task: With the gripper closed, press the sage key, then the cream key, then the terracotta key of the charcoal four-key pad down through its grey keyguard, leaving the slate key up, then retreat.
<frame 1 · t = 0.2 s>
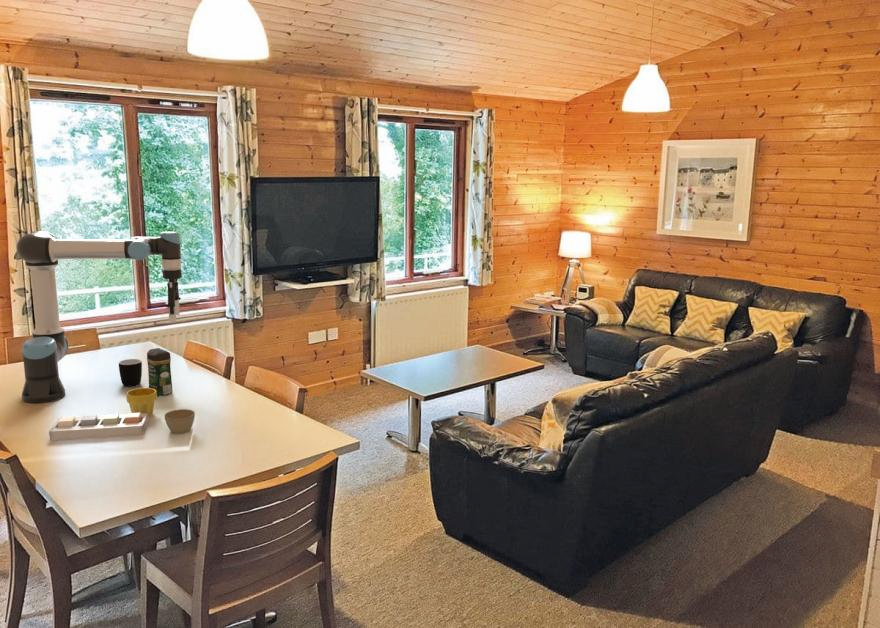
hand: (174, 318, 302), 28 cm above the table, fingers open, 13 cm apart
keypad: (101, 433, 246), on the table
mug: (130, 384, 303), on the table
key terracotta: (132, 418, 248), point 5 cm above the table, slide at 0.0 cm
key sage: (111, 419, 246), point 5 cm above the table, slide at 0.0 cm
key cream: (66, 422, 243), point 5 cm above the table, slide at 0.0 cm
plant pot: (143, 417, 264), on the table
flower pot: (180, 433, 248), on the table
coffee jar: (160, 393, 291), on the table
key slate: (89, 421, 245), point 5 cm above the table, slide at 0.0 cm
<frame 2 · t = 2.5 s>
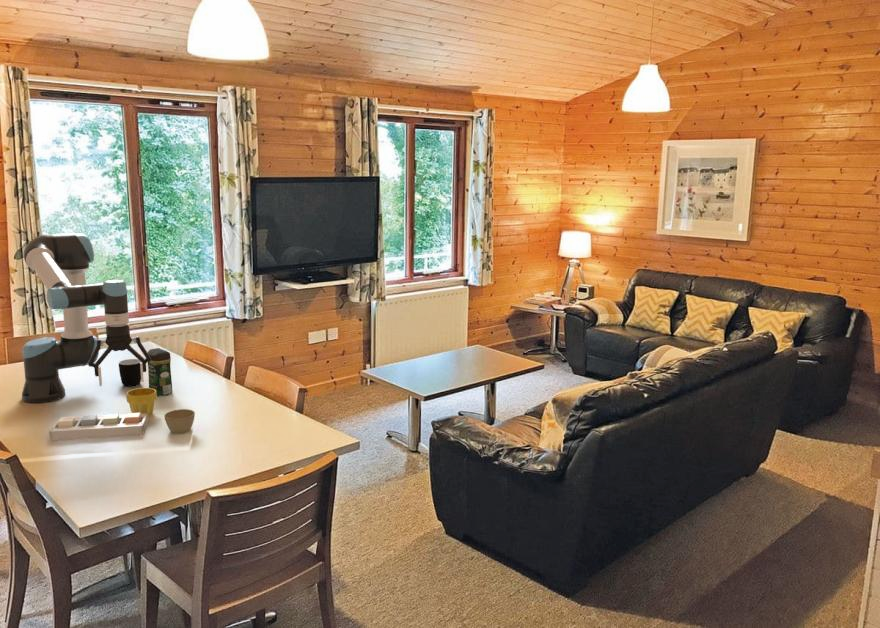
hand: (121, 382, 253), 15 cm above the table, fingers open, 13 cm apart
nothing on the table moved.
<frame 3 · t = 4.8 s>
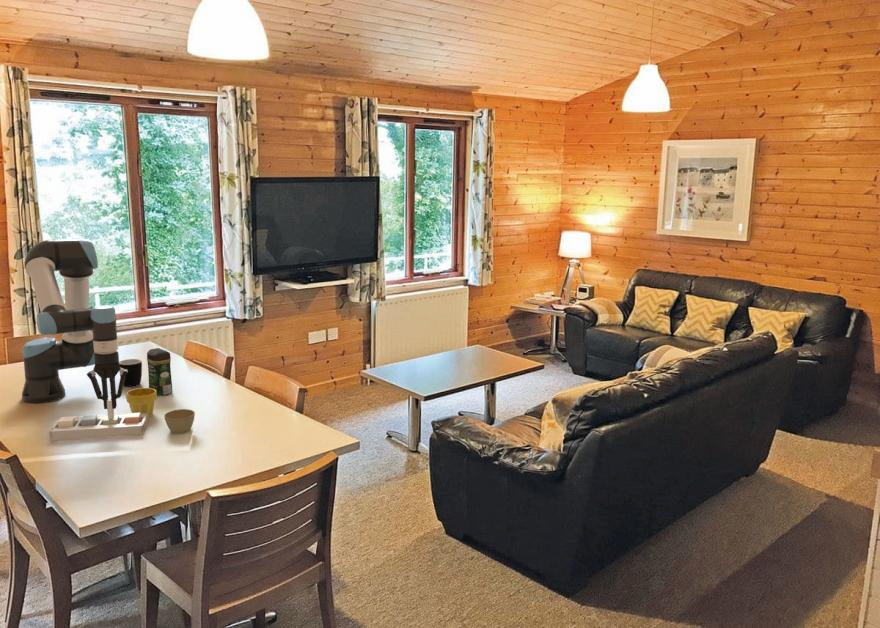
hand: (111, 417, 246), 6 cm above the table, fingers closed
key sage: (111, 421, 246), point 4 cm above the table, slide at 0.6 cm, touching gripper
everything else where it was.
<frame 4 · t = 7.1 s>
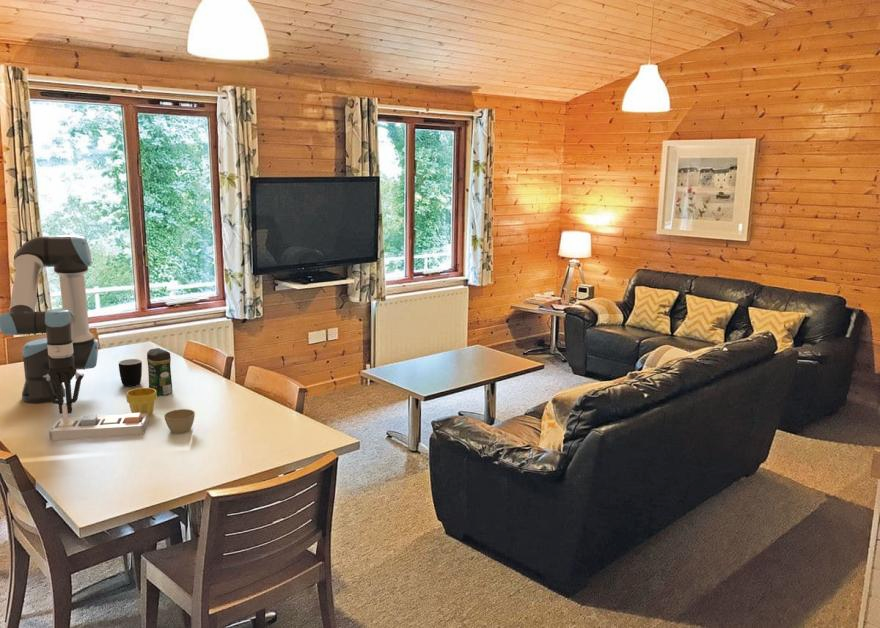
hand: (66, 422, 243), 5 cm above the table, fingers closed
key sage: (111, 423, 247), point 3 cm above the table, slide at 1.4 cm
key cream: (67, 426, 243), point 3 cm above the table, slide at 1.4 cm, touching gripper
everything else where it was.
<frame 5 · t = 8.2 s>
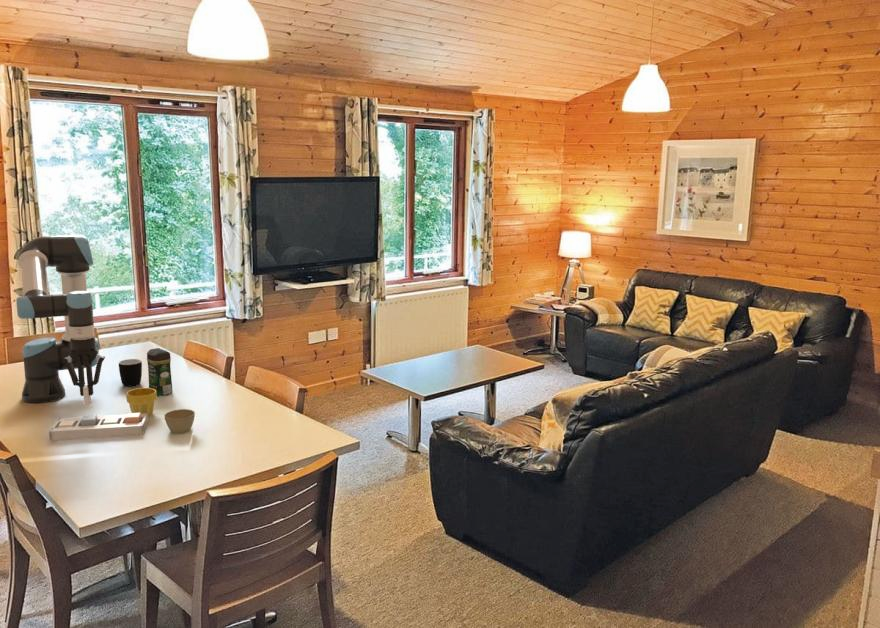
hand: (87, 404, 243), 11 cm above the table, fingers closed
key cream: (67, 426, 243), point 3 cm above the table, slide at 1.5 cm
everything else where it was.
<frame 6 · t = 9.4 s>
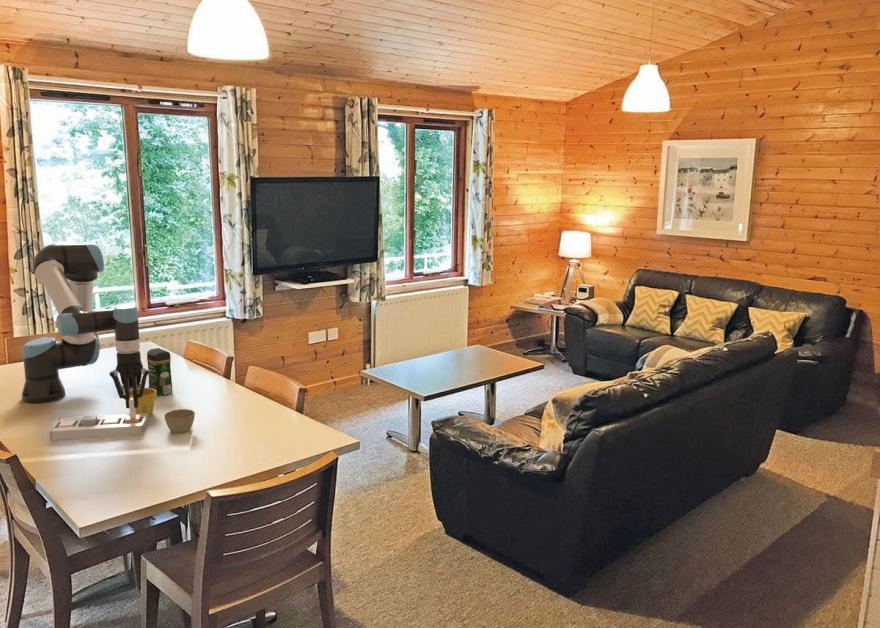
hand: (132, 416, 248), 6 cm above the table, fingers closed
key terracotta: (133, 420, 248), point 4 cm above the table, slide at 0.8 cm, touching gripper
everything else where it was.
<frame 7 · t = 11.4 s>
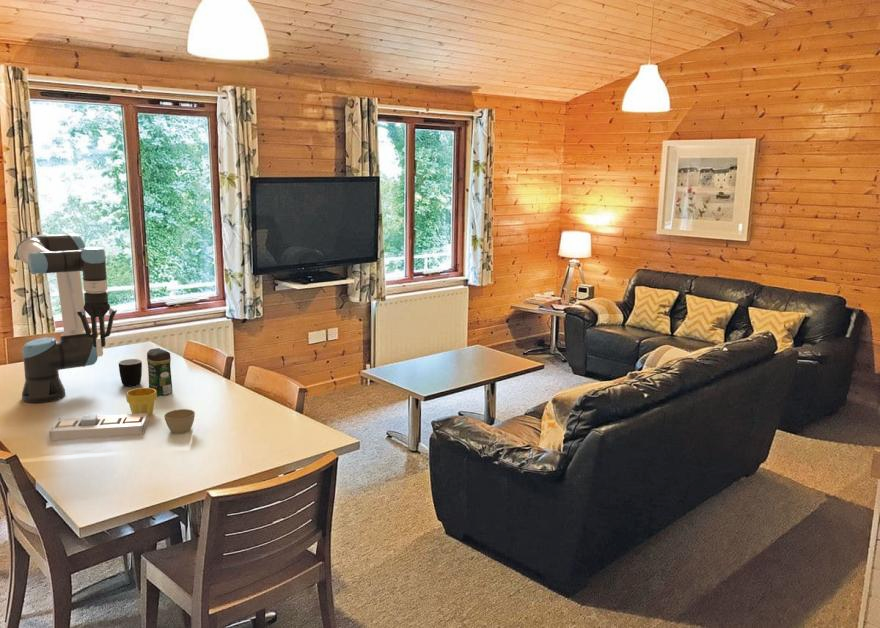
hand: (100, 355, 257), 24 cm above the table, fingers closed
key terracotta: (133, 422, 248), point 3 cm above the table, slide at 1.4 cm
everything else where it was.
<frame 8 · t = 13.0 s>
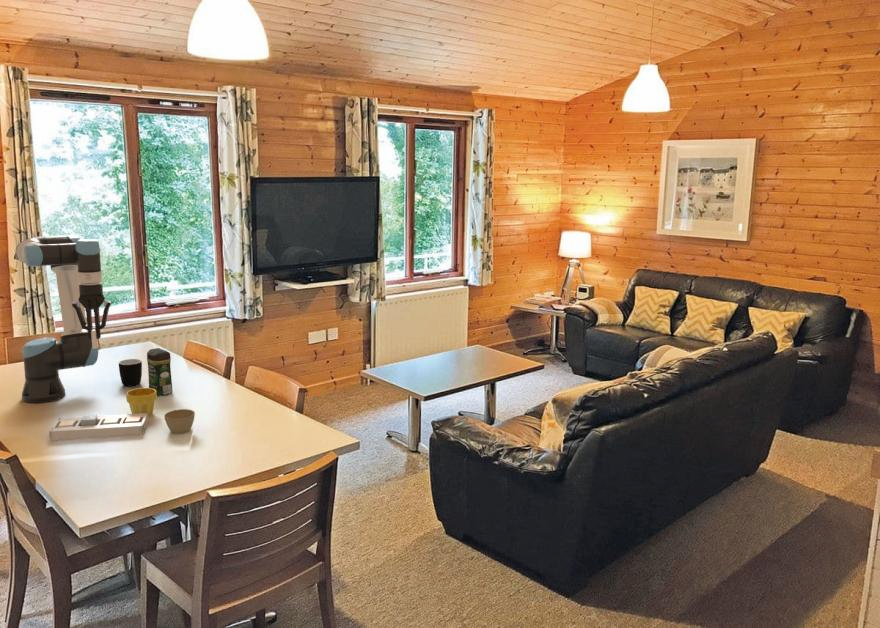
hand: (95, 347, 257), 26 cm above the table, fingers closed
nothing on the table moved.
at the end: key sage slide at 1.4 cm; key cream slide at 1.5 cm; key terracotta slide at 1.4 cm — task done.
